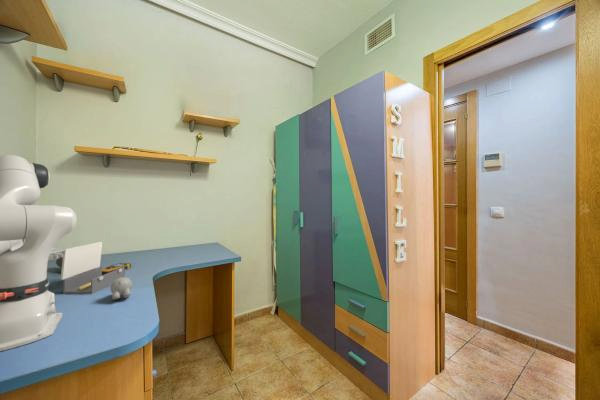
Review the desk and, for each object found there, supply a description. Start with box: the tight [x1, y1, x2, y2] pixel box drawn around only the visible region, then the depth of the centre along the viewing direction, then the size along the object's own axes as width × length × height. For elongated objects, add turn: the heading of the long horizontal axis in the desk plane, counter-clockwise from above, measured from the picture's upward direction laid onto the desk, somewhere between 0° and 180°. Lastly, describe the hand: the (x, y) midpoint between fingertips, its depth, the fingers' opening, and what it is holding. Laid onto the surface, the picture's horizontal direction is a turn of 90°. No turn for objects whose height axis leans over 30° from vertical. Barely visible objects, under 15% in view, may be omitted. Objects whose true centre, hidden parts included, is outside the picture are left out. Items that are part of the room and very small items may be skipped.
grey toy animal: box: [109, 276, 133, 301], centre depth 98 cm, size 7×12×8 cm, turn 36°
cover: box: [60, 241, 103, 281], centre depth 111 cm, size 20×13×1 cm
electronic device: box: [102, 262, 132, 275], centre depth 133 cm, size 8×16×3 cm, turn 175°
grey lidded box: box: [62, 266, 126, 295], centre depth 111 cm, size 20×13×6 cm, turn 3°
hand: (60, 256), depth 110 cm, fingers closed
